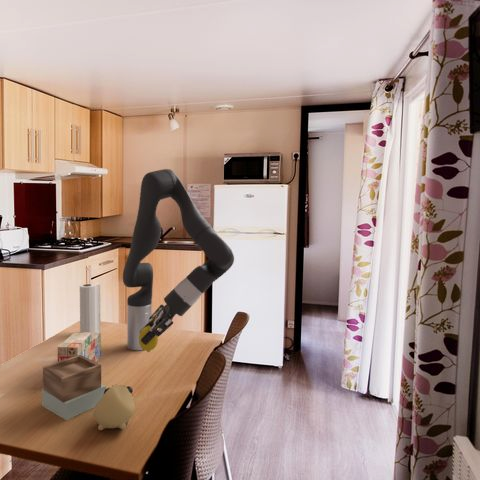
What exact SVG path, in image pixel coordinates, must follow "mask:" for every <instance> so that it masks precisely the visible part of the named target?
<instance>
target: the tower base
mask: <svg viewBox="0 0 480 480" xmlns="http://www.w3.org/2000/svg"><path fill="white" fill-rule="evenodd" d="M106 389H107V386H106V385H105V384H102V383H101V388H98V389H96V390H93V391H91V392H88V393H86V394H84V395H81V396H79V397H76V398H74V399H71V400H69V401H66V402H64V403H63V402H61V401H60V400H59V399H57V398H56V397H54V396H53V395H51V394H50V393H49V392H47V391H46V390H44V389H43V388H42V389H41V406H42V407H43V408H45V409H47V410H49V411H51V412H52V413H53V414H54V415H57V416H58V417H60V418H61V419H63V420H65V421H69V420H70V418H71V419H72V418H75V417H76V416H78V415H80V414H83V413H85V412H87V411H89V410H91V409H93V408H95V406H96V405H97V403H98V402H99V400H100V399H101V398H102V396H103V395H104V391H105V390H106ZM74 416H75V417H74Z"/></svg>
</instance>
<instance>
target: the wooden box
mask: <svg viewBox="0 0 480 480" xmlns="http://www.w3.org/2000/svg"><path fill="white" fill-rule="evenodd" d="M42 381H43V383H42V385H43V387H42V389H44V390H46V391H47V392H49V393H50V394H51V395H53V396H54V397H56V398H57V399H59V400H60V401H61V402H63V403H64V402H66V401H69V400H71V399H74V398H76V397H79V396H81V395H84V394H86V393H88V392H91V391H93V390H96V389H98V388H101V384H102V365H101V364H100V363H99V362H94V361H92V360H90V359H88V358H86V357H84V356H82V355H78V356H75V357H72V358H68V359H65V360H62V361H59V362H58V361H56V362H52V363H50V364H47V365H43V366H42Z"/></svg>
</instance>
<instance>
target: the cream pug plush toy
mask: <svg viewBox="0 0 480 480" xmlns="http://www.w3.org/2000/svg"><path fill="white" fill-rule="evenodd" d="M133 396H134V393H133V388H132V386H129V385H128V386H127V385H126V384H125V385H122V384H114V385H111V386H110V387H106V390H105V391H104V395H103V396H102V398H101V399H100V400H99V402H98V403H97V405H96V406H95V407H93V408H94V409H93V412H92V413H93V414H92V415H93V417H94V419H95V421H96V423H97V424H98V425H97V429H98V430H99V431H103V430H104V429H115V428H116V429H117V428H118V429H121V430H124V429H125V428H126V427H127V425H126V424H128V423H129V421H130V420H131V418H132V417H133V415H134V413H135V408H136V405H135V401H134V399H133Z"/></svg>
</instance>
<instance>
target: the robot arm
mask: <svg viewBox="0 0 480 480" xmlns="http://www.w3.org/2000/svg"><path fill="white" fill-rule="evenodd" d="M140 184H141V185H140V194H139V195H140V196H139V203H138V209H137V216H136V221H135V223H134V224H135V225H134V228H133V233H132V238H131V244H130V250H129V252H128V255H127V259H126V261H125V264H124V268H123V271H122V272H123V273H122V283H123V285H124V286H125V287H126V288H140V289H139V290H138V291H136V292H135V293H132V294H130V295H129V296H128V297H127V301H126V302H127V303H126V306H127V309H126V311H127V312H126V313H127V314H126V315H127V316H126V317H127V318H126V319H127V320H126V322H127V323H126V324H127V325H126V326H127V329H126V330H127V334H126V335H127V341H126V342H127V349H128V350H131V351H144V350H143V349H142V348H141V346H140V344H139V335H140V332H141V330H142V329H143V328H145V327H147V326H150V327H152V328H151V329H150V330H149V331H148V332H147V333H146V334H145V335H144V336H143V337H142V338H141V342H142V343H143V344H145V345H147V344H148V343H149V342H150V341H151V340H152V339H153V338H154V337H155V336H158V338H159V337H160V336H161V335H162V334H164V333H165V332H166V331H167V330H168V329H169V328H170V327H171V326H172V325H173V324H174V321H173V320H174V319H173V318H174V317H175V316H176V315H177V316H179V317H183V316H184V315H185V314H186V313H187V312H188V311H189V309H190V308H191V307H192V306H193V305H194V304H195V303H196V302H197V301H198V300H199V299H200V298H201V296H202V295H203V294H204V293H205V292H206V291H207V290H208V289H209V288H210V286H212V284H213V283H215V282H216V281H217V280H218V279H219V278H221V277H222V276H223V275H224V274H226V273H227V272H228V271H229V270H230V269H231V267H232V266H233V264H234V262H235V255H234V253H233V251H232V248H231V247H230V246H229V245H228V244H227V242H226V241H224V239H222V237H220V236H219V234H218V233H217V232H216V230H215V229H214V228H213V227H212V225H211V224H210V223H209V222H208V221H207V219H206V218H205V217H204V216H203V214H202V213H201V212H200V211H199V209H198V208H197V206H196V205H195V203H194V201H193V200H192V198H191V196H190V194H189V193H188V190H187V189H186V187H185V186H184V184H183V182H182V181H181V179H180V178H179V176H178V174H176V173H175V172H174V171H173V170H171V169H168V168H165V169H157V170H153V171H149V172H147V173H146V174H145V175H144V176H143V178H142V180H141V183H140ZM167 198H168V199H169V198H171V199H172V200H173V201H174V202H175V203H176V204H177V206H178V207H179V210H180V216H181V220H182V221H181V222H182V225H183V228H184V230H185V231H186V233H187V235H188V236H189V237H190V238H191V239H192V240H193V242H194V243H195V245H197V246H198V247H199V248H200V249H201V250H202V251H203V254H205V255H206V257H207V258H208V259H207V260H206V261H205V262H204V263H203V264H202V265H198V266H197V267H195V268H194V269H193V270H191V271H190V272H189V274H188V275H186V277H184V279H182V280H180V282H179V283H177V285H176V286H174V288H173V289H172V290H171V291H169V293H167V294H166V295H165V297H163V301H164V302H165V305H163V304H160V305H159V306H158V308H157V309H156V310H155V311H154V312H152V309H153V308H152V307H153V304H152V302H153V285H154V269H153V265H152V264H151V263H150V262H142V261H144V259H145V258H147V256H148V255H150V254H151V253H152V252H153V251H154V250H155V249H156V248H157V247H158V244H159V242H160V238H161V233H162V224H161V222H160V220H159V218H158V216H157V215H156V214H157V208H158V204H159V203H160V201H162V200H164V199H167Z"/></svg>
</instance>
